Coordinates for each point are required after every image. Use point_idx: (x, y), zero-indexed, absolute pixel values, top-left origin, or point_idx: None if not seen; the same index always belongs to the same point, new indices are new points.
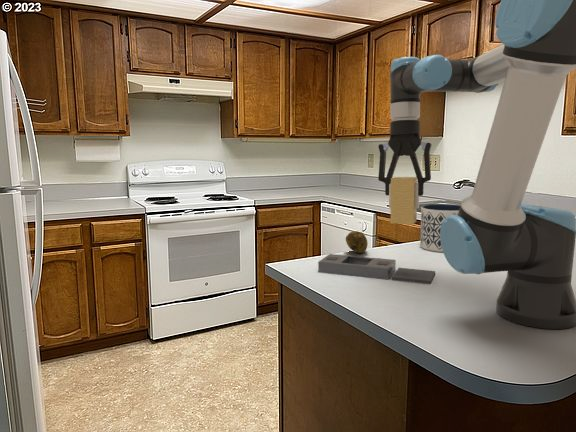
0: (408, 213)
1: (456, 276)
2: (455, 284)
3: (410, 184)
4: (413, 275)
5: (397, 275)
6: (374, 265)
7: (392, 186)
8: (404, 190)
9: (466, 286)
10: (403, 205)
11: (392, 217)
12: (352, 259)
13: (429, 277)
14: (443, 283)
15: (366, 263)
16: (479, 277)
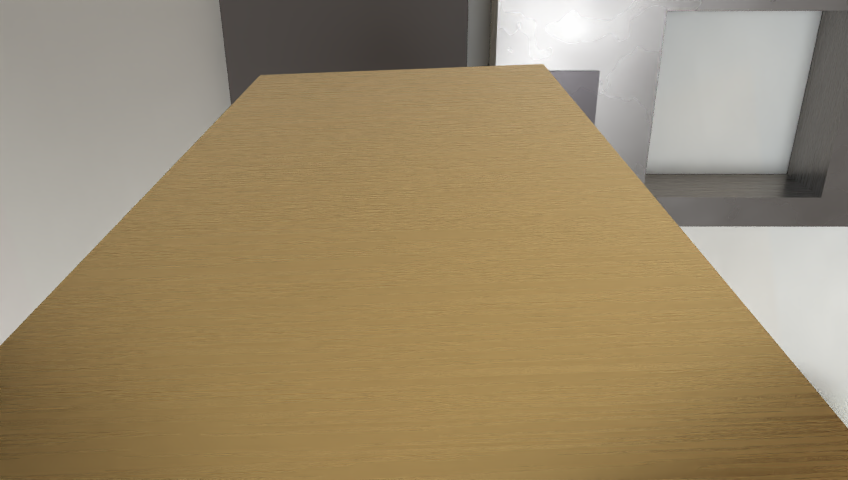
0: (305, 103)
1: (125, 194)
2: (86, 25)
3: (111, 351)
4: (343, 62)
5: (439, 22)
6: (608, 27)
7: (682, 292)
8: (329, 256)
9: (18, 7)
10: (373, 138)
11: (530, 82)
12: (782, 190)
13: (241, 52)
14: (154, 19)
15: (675, 184)
16: (8, 219)
